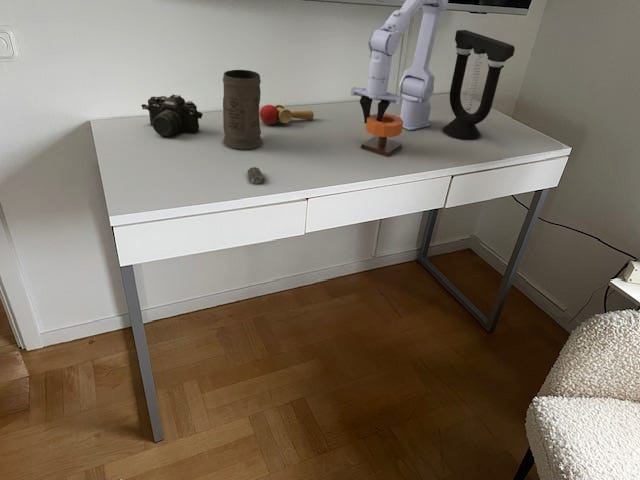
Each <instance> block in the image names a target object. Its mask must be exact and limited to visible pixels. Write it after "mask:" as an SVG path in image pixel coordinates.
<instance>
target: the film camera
mask: <svg viewBox="0 0 640 480" xmlns="http://www.w3.org/2000/svg"><path fill="white" fill-rule="evenodd" d="M140 106H141V109H142V110H147V111H148V114H149V123H150V126H152V128H153V130H154V131H155V133H157V135H159V136H160V137H163V138H166V137H170V136H173V135H175V134H182V133H184V132H185V133H190V134H196V133H198V132H199V129H200V125H199V120H201V119H202V117H203V113H202V112H201V111H198V107H197V104H195V103H194V102H193V101H191V100H190V101H189V100H188V101H186V100H185V98H184V97H182V96H181V95H180V94H178V95H177V94H174V93H173V94H171V95H169V96H165V95H161V96H150V98H149V99H147V104H145V103H144V104H141V105H140Z"/></svg>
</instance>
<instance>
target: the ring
mask: <svg viewBox="0 0 640 480" xmlns="http://www.w3.org/2000/svg"><path fill="white" fill-rule="evenodd" d="M377 115H378V113H373V114H370V116H369V117H368V118H367V123H366V124H365V130H366V132H367V133H369V134H371V135H372V136H374V137H375V136H378V137H379V136H380V137H387V138H394V137H399V136H400V135H401V134H402V132H403V127H402V126H403V120H402V119H401V118H400V116H397V115H395V114H389V113H384V115H383V117H382V120H381V122H379V121H377Z"/></svg>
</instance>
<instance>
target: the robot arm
mask: <svg viewBox="0 0 640 480" xmlns="http://www.w3.org/2000/svg"><path fill="white" fill-rule="evenodd" d="M448 3H449V0H405V1H404V3H403V5H402V6H401V8H400V9H397V10H394V11H393V12H392V13H391V14H390V16H389V17H388V19H386V20H385V22H384V24H383V25H382V26H381V27H380V28H377V29H375V30H373V31H372V33H370V36H369V39H368V41H367V47H368V50H369V53H368V56H369V59H370V60H369V68H368V75H367V76H368V77H367V83H366V84H367V85H366V88H364V87H357V86H353V87H352V88H351V90H350V96H353V97H354V96H356V97H360V99H359V104H360V107H361V109H362V112H363V120H364V122H363V123H364V124H365V125H366V123H367V118H368V117H369V116H370V115H371V108H372V104H373V101H374V100H377V101H379V102H378V103H377V114H378V115H377V121H379V122H381V120H382V117H383V115H384V114H386V111H387V109H388V108H389V106H390V105H391V103H392V104H395V105H397V106H400V105H401V109H400V115H399V117H400V118H401V119H402V120H403V126H402V128H403V129H405V130H408V131H413V130H418V129H422V128H426V127H430V124H429V118H430V114H431V108H432V104H431V100H430V99H431V97H432V96H433V93H434V90H435V75H434V74H433V72H432V70H430V69H429V66H430V61H431V57H432V53H433V49H434V45H435V40H436V36H437V33H438V28H439V24H440V18H441V15H442V12H444V11H446V10H447V7H448ZM419 9H422V12H423V14H422V20H421V22H420V23H421V24H420V29H419V33H418V38H417V42H416V47H415V51H414V57H413V61H412V65H411V66H410V67H408V68H406V69H405V70H404V71H403V74H402V77H401V79H400V81H399V85H398V90H399V94H401V95H398V94H394V93H391V92H389V91H388V87H389V81H390V74H391V67H392V60H393V55H394V54H396V52H397V50H398V48H399V45H400V42H401V38H402V37H403V35H404V34H405V33H406V31H407V30H408V28H409V27H410V25H411V18H412V17H413V16H414V15H415V14H416V13H417V12H418V11H419Z"/></svg>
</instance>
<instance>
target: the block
mask: <svg viewBox="0 0 640 480" xmlns="http://www.w3.org/2000/svg"><path fill="white" fill-rule="evenodd" d="M247 175H248V178H249V182H250V184H254V185H257V184H258V185H259V184H261V183H263V182H265V176H264V174H263V173H262V171H261V169H260V168H259V167H256V166H253V167H250V168H249V169H248V170H247Z"/></svg>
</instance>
